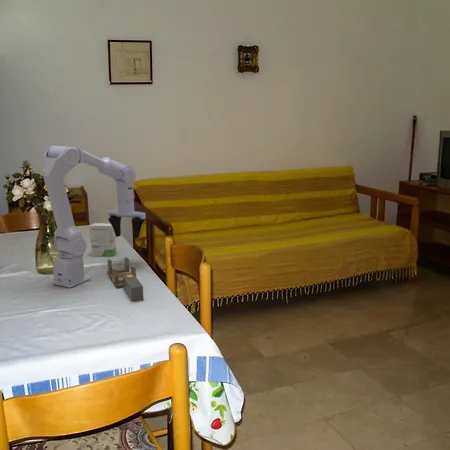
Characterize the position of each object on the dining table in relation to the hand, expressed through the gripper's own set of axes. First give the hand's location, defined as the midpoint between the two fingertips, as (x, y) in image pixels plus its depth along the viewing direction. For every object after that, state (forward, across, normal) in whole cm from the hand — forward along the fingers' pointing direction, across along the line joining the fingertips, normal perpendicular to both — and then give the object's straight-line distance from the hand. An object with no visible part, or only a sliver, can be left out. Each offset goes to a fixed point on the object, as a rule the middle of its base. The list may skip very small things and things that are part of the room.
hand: (127, 237), depth 191 cm
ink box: (+10, +15, -7) cm, 20 cm away
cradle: (+10, -7, +16) cm, 20 cm away
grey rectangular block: (+10, -17, +26) cm, 33 cm away
